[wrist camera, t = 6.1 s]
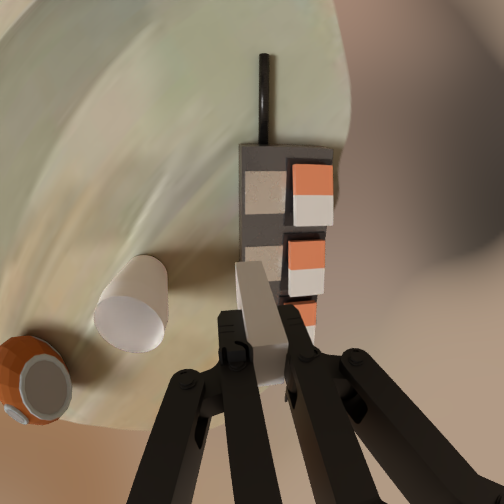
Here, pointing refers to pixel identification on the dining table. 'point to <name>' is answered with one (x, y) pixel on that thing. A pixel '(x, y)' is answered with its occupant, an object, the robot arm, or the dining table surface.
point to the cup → (135, 306)
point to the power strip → (273, 198)
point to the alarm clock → (33, 381)
